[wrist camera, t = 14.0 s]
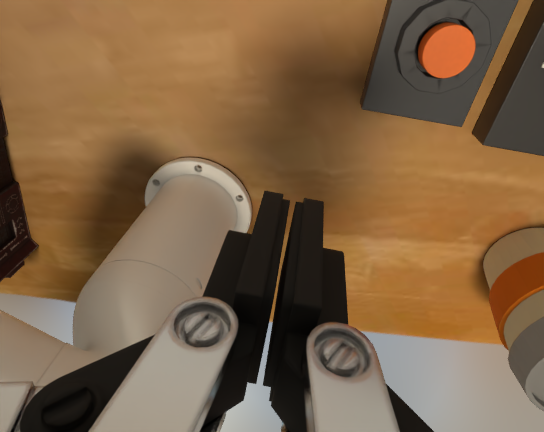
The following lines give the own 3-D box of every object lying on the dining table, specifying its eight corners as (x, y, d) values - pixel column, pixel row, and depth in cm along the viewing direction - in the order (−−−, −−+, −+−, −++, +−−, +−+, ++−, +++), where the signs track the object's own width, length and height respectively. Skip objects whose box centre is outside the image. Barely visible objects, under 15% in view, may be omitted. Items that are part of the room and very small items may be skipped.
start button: (456, 76, 29) (462, 82, 28) (410, 69, 29) (415, 74, 28) (476, 26, 27) (485, 29, 25) (427, 18, 27) (433, 20, 26)
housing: (454, 119, 34) (468, 134, 31) (359, 102, 35) (363, 115, 31) (521, -35, 28) (547, -36, 24) (402, -55, 28) (412, -59, 24)
